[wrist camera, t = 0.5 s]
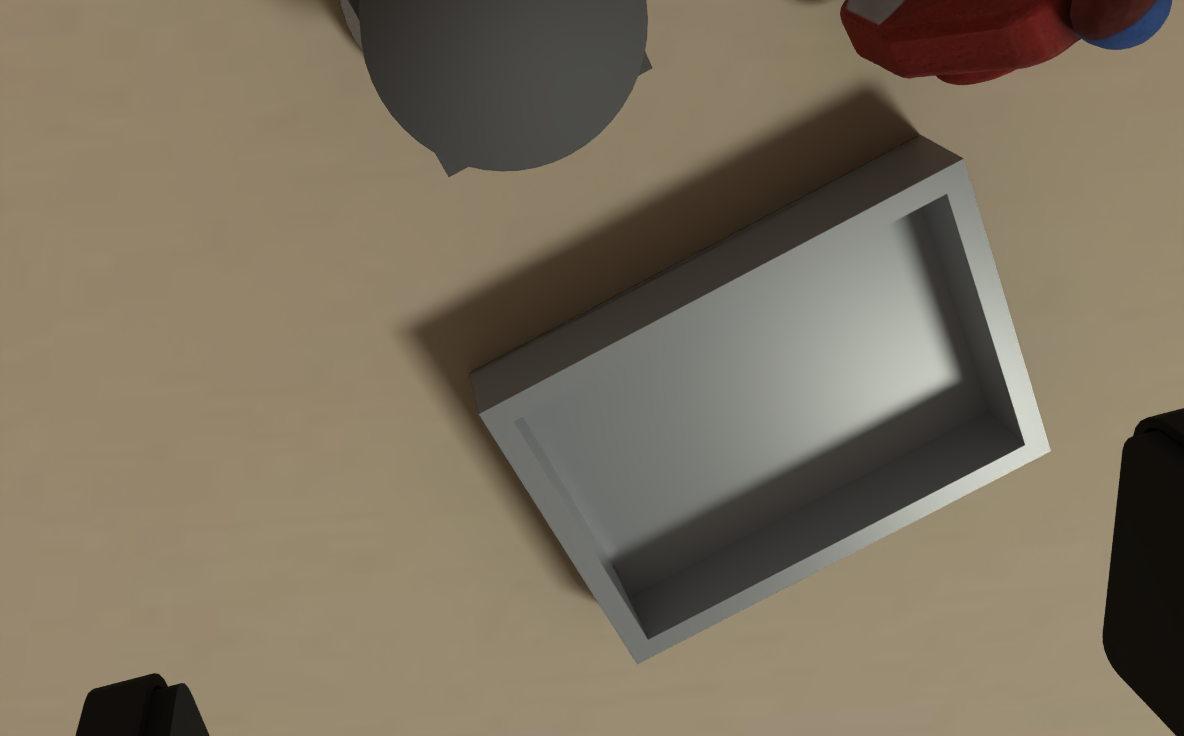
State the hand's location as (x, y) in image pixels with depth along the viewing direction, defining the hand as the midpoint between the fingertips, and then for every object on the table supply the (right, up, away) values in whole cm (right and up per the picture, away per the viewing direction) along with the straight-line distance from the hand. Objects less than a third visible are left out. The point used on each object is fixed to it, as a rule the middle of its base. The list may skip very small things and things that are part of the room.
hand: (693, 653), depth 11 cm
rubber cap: (-4, +12, +16) cm, 20 cm away
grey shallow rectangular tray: (+5, +2, +28) cm, 28 cm away
